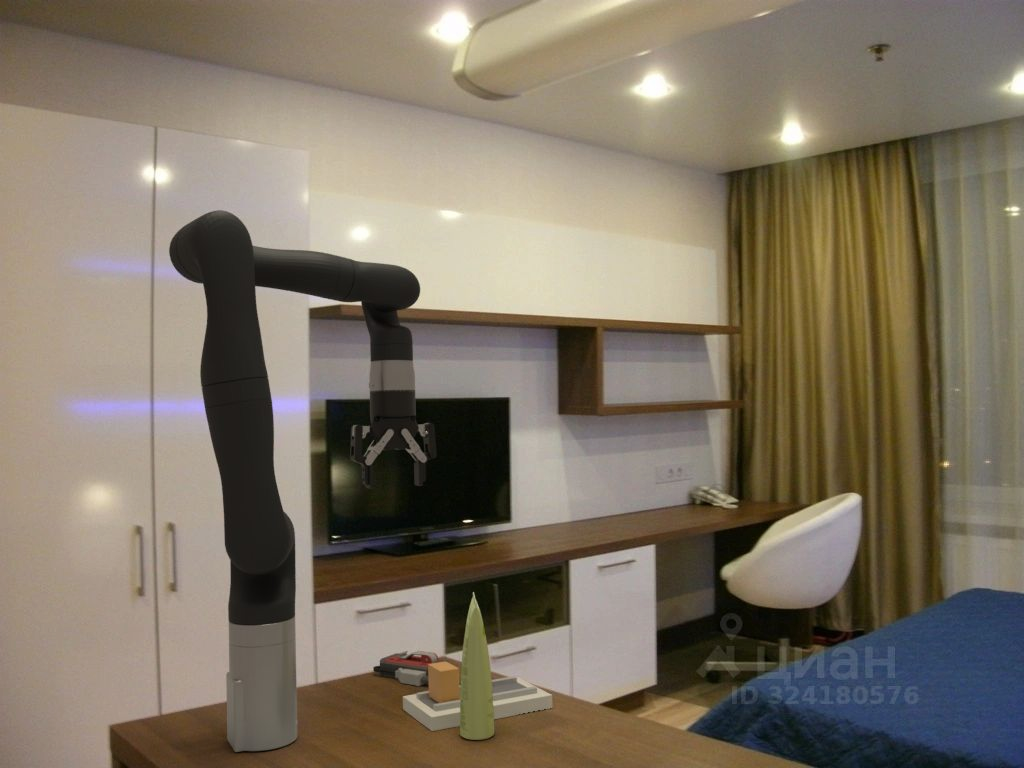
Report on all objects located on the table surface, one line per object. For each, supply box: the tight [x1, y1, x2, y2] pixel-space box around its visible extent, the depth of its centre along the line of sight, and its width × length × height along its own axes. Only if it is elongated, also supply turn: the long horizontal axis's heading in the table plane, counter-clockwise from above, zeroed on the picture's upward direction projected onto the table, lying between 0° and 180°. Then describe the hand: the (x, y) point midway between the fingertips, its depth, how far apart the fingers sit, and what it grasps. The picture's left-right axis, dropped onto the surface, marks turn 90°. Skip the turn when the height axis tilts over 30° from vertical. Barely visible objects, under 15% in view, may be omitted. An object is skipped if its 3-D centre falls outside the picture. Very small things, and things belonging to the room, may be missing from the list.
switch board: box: [402, 676, 553, 732], centre depth 143 cm, size 20×12×3 cm, turn 117°
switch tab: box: [428, 660, 460, 703], centre depth 140 cm, size 3×5×5 cm, turn 27°
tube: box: [459, 591, 495, 741], centre depth 131 cm, size 6×5×20 cm
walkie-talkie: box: [372, 650, 461, 687], centre depth 160 cm, size 9×4×20 cm
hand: (394, 486), depth 152 cm, fingers open, 8 cm apart
